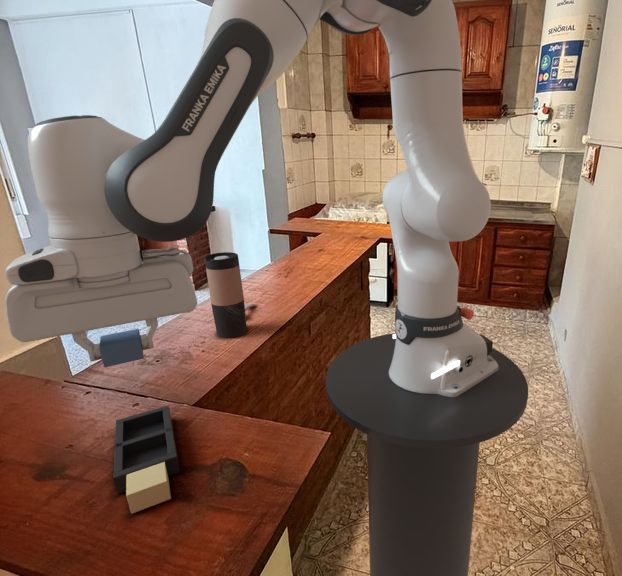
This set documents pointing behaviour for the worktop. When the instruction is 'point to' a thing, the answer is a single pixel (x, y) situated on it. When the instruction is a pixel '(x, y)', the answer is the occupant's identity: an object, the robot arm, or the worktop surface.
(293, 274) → the worktop surface
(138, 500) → the pad beige
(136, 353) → the pad blue
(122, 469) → the backing frame
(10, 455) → the worktop surface
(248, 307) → the spoon
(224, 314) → the travel mug
